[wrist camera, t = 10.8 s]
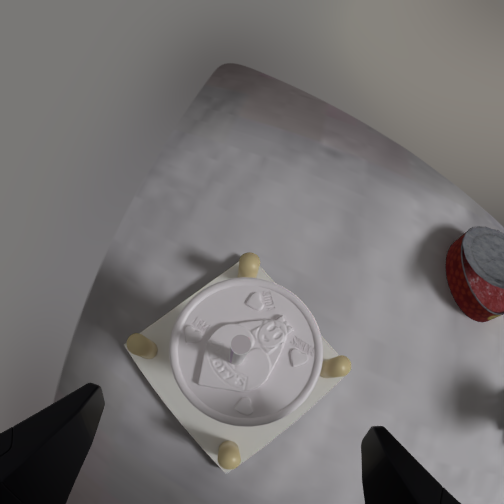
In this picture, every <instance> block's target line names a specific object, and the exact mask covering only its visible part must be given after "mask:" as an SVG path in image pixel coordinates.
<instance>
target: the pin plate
mask: <svg viewBox="0 0 504 504" xmlns="http://www.w3.org/2000/svg"><path fill="white" fill-rule="evenodd" d="M242 277H250V278H259V279H264V280H267V281H271V282H274V281H273V280H272V279H271V278H270V277H269V276H268V274H267V273H266V272H265V271H264V270H263V269H262V268H261V267H260V259H259V257H258V256H257V255H256V254H254V253H245V254H243V255H242V256H241V257H240V260H239V262H238V263H236V264H235V265H233V266H232V267H231V268H229V269H228V270H226V271H225V272H224V273H222V274H221V275H219V276H218V277H217V278H215V279H214V280H213V281H211V282H210V283H208V284H207V285H206V286H204V287H203V288H201V289H200V290H199V291H197V292H196V293H195V294H193V295H192V296H190V297H189V298H188V299H186V300H185V301H183V302H182V303H181V304H179V305H178V306H176V307H175V308H174V309H172V310H171V311H170V312H168V313H167V314H165V315H164V316H163V317H161V318H160V319H158V320H157V321H156V322H154V323H153V324H152V325H150V326H149V327H147V328H146V329H145V330H143V331H142V332H140V333H135V334H132V335H131V336H129V338H128V340H127V343H125V344H124V346H125V348H126V349H127V351H128V352H129V354H130V355H131V357H132V358H133V360H134V361H135V363H136V364H137V366H138V367H139V369H140V370H141V372H142V373H143V374H144V376H145V377H146V379H147V380H148V381H149V383H150V384H151V386H152V387H153V388H154V390H155V391H156V392H157V394H158V395H159V396H160V398H161V399H162V400H163V402H164V403H165V404H166V406H167V407H168V408H169V409H170V411H171V412H172V413H173V414H174V416H175V417H176V418H177V419H178V421H179V422H180V423H181V424H182V425H183V427H184V428H185V429H186V430H187V431H188V433H189V434H190V435H191V436H192V437H193V438H194V440H195V441H196V442H197V443H198V444H199V445H200V446H201V447H202V449H203V450H204V451H205V452H206V453H207V454H208V455H209V456H210V457H211V458H212V460H213V461H214V462H215V463H216V464H217V465H218V466H219V467H220V468H221V469H222V470H223V471H224V472H225V473H226V474H227V473H228V472H230V471H231V470H233V469H235V468H236V467H238V466H239V465H240V464H241V463H243V462H244V461H246V460H247V459H248V458H250V457H251V456H253V455H254V454H255V453H257V452H258V451H259V450H261V449H262V448H263V447H265V446H266V445H267V444H268V443H270V442H271V441H272V440H274V439H275V438H276V437H277V436H279V435H280V434H281V433H282V432H284V431H285V430H286V429H287V428H288V427H290V426H291V425H292V424H293V423H294V422H296V421H297V420H298V419H299V418H300V417H301V416H303V415H304V414H305V413H306V412H307V411H308V410H309V409H311V408H312V407H313V406H314V405H315V404H316V403H317V402H318V401H319V400H320V399H322V398H323V397H324V396H325V395H326V394H327V393H328V392H329V391H330V390H331V389H332V388H333V387H334V386H335V385H336V384H337V383H338V382H339V381H340V380H342V379H343V378H344V377H345V376H346V375H347V374H348V373H349V372H350V371H351V362H350V360H349V359H348V358H347V357H345V356H339V355H338V354H337V353H336V352H335V350H334V349H333V348H332V347H331V346H330V345H329V344H328V342H327V341H326V340H325V339H324V338H323V337H322V336H321V337H322V343H323V363H322V369H321V372H320V376H319V378H318V381H317V383H316V385H315V387H314V389H313V391H312V392H311V394H310V395H309V396H308V398H307V399H306V400H305V401H304V402H303V403H302V404H301V406H299V407H298V408H297V409H296V410H295V411H293V412H292V413H290V414H289V415H287V416H286V417H284V418H282V419H280V420H278V421H275V422H272V423H269V424H266V425H261V426H253V427H241V426H233V425H228V424H225V423H221V422H219V421H216V420H214V419H212V418H210V417H208V416H206V415H205V414H203V413H202V412H200V411H199V410H198V409H196V408H195V407H194V406H193V405H192V404H191V403H190V402H189V401H188V400H187V399H186V397H185V396H184V395H183V393H182V392H181V390H180V389H179V387H178V385H177V383H176V381H175V379H174V376H173V373H172V369H171V365H170V359H169V344H170V338H171V333H172V330H173V327H174V324H175V322H176V320H177V318H178V316H179V314H180V313H181V311H182V309H183V308H184V307H185V306H186V304H187V303H188V302H189V301H190V300H191V299H192V298H193V297H194V296H195V295H197V294H198V293H199V292H201V291H202V290H203V289H205V288H207V287H209V286H211V285H213V284H215V283H217V282H220V281H223V280H227V279H232V278H242ZM274 283H275V282H274Z"/></svg>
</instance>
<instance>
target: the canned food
mask: <svg viewBox="0 0 504 504" xmlns="http://www.w3.org/2000/svg"><path fill="white" fill-rule="evenodd" d="M446 276H447V281H448V285H449V288H450V291H451V293H452V295H453V298H454V300H455V302H456V303H457V305H458V306H459V308H460V309H461V310H462V311H463V312H464V313H465V314H466V315H467V316H468V317H469V318H471V319H473V320H475V321H478V322H486V321H489V320H491V319H494V318H496V317H498V316H501V315H503V314H504V234H503V233H502V232H500V231H499V230H494V229H490V228H488V227H480V226H477V227H472V228H471V229H469V230H468V231H467V232H466V233H465V234H463V235H462V236H461V237H460V238H459V239H457V240H456V241H455V242H454V243H453V244H452V245H451V246H450V248H449V250H448V253H447V257H446Z"/></svg>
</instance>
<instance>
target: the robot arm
mask: <svg viewBox="0 0 504 504" xmlns="http://www.w3.org/2000/svg"><path fill="white" fill-rule="evenodd" d="M104 405H105V402H104V397H103V393H102V389H101V387H100V386H99V385H96V384H93V383H87V384H86V385H84V386H82V387H81V388H79V389H77V390H76V391H74V392H72V393H71V394H69V395H67V396H65V397H64V398H62V399H60V400H59V401H57V402H55V403H53V404H52V405H50V406H48V407H47V408H45V409H43V410H41V411H40V412H38V413H36V414H34V415H33V416H31V417H29V418H27V419H26V420H24V421H22V422H20V423H19V424H17V425H15V426H14V427H11V428H9V429H8V430H6V431H4V432H2V433H0V504H66V502H67V499H68V497H69V494H70V492H71V490H72V487H73V485H74V483H75V480H76V478H77V476H78V474H79V471H80V469H81V467H82V465H83V462H84V460H85V458H86V456H87V454H88V451H89V449H90V447H91V445H92V442H93V439H94V436H95V433H96V430H97V427H98V424H99V421H100V418H101V415H102V412H103V409H104ZM361 453H362V483H363V491H364V498H365V504H461V503H460V502H458V501H457V500H456V499H455V498H454V497H453V496H452V495H451V494H450V493H449V492H448V491H447V490H446V489H445V488H442V485H441V484H440V483H439V482H438V481H437V480H436V479H435V478H434V477H433V476H432V475H431V474H430V473H429V472H428V471H427V470H426V469H425V468H424V467H423V466H422V465H421V464H420V463H419V462H418V461H417V460H416V459H415V458H414V457H413V456H412V455H411V454H410V453H409V452H408V451H407V450H406V449H405V448H404V447H403V446H402V445H401V444H400V443H399V442H398V441H397V440H396V439H395V438H394V437H393V436H392V435H391V434H390V432H389V431H388V430H387V429H386V428H385V427H383V426H373V427H371V428H370V430H369V431H368V433H367V434H366V435H365V437H364V438H363V440H362V443H361Z"/></svg>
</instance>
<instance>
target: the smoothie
mask: <svg viewBox="0 0 504 504" xmlns="http://www.w3.org/2000/svg"><path fill="white" fill-rule="evenodd" d="M169 359H170V365H171V369H172V373H173V376H174V379H175V381H176V383H177V385H178V387H179V389H180V390H181V392H182V393H183V395H184V396H185V397H186V399H187V400H188V401H189V402H190V403H191V404H192V405H193V406H194V407H195V408H196V409H198V410H199V411H200V412H202V413H203V414H205V415H206V416H208V417H210V418H212V419H214V420H216V421H219V422H221V423H225V424H228V425H233V426H241V427H253V426H261V425H266V424H269V423H272V422H275V421H278V420H280V419H282V418H284V417H286V416H287V415H289V414H290V413H292V412H293V411H295V410H296V409H297V408H298V407H299V406H301V404H302V403H303V402H304V401H305V400H306V399H307V398H308V396H309V395H310V394H311V392H312V391H313V389H314V387H315V385H316V383H317V381H318V378H319V376H320V372H321V369H322V363H323V343H322V337H321V333H320V330H319V327H318V324H317V322H316V320H315V318H314V316H313V315H312V313H311V312H310V310H309V309H308V307H307V306H306V305H305V304H304V303H303V302H302V301H301V300H300V299H299V298H298V297H297V296H296V295H295V294H293V293H292V292H291V291H289V290H288V289H286V288H284V287H282V286H280V285H278V284H276V283H274V282H271V281H267V280H264V279H259V278H250V277H242V278H232V279H227V280H223V281H220V282H217V283H215V284H213V285H211V286H209V287H207V288H205V289H203V290H202V291H201V292H199V293H198V294H197V295H195V296H194V297H193V298H192V299H191V300H190V301H189V302H188V303H187V304H186V306H185V307H184V308H183V309H182V311H181V313H180V314H179V316H178V318H177V320H176V322H175V324H174V327H173V330H172V333H171V338H170V344H169Z"/></svg>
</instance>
